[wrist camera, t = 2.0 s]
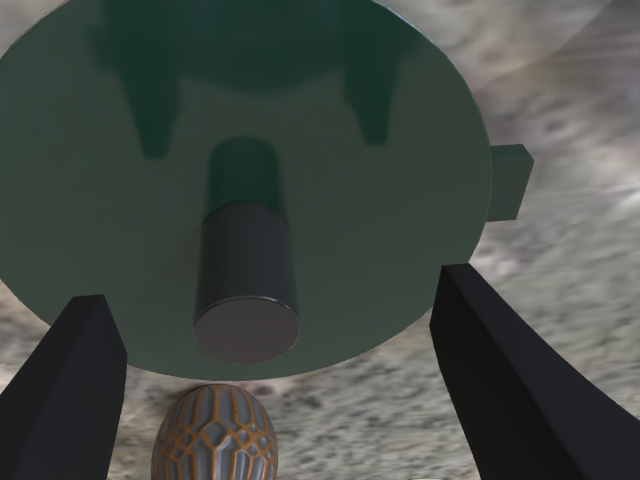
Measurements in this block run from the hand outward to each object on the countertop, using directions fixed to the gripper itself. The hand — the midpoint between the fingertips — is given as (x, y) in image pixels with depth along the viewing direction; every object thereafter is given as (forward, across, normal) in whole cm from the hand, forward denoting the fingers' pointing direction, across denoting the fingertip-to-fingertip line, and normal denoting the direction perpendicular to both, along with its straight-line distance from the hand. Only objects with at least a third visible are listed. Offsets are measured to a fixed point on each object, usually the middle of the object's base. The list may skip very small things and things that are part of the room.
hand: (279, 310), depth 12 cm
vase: (+11, +4, +20) cm, 23 cm away
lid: (+5, +1, +1) cm, 5 cm away
